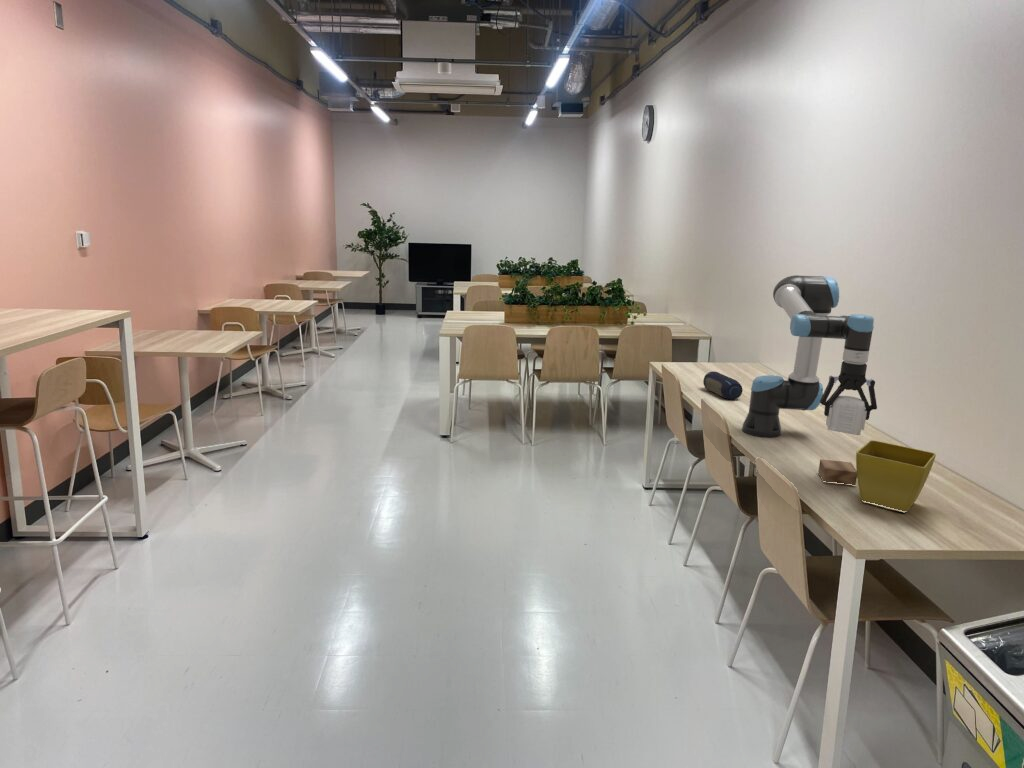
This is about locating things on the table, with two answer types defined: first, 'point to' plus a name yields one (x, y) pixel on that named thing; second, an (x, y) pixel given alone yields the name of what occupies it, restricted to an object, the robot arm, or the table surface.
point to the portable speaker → (722, 385)
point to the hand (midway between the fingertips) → (844, 427)
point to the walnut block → (837, 471)
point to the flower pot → (892, 473)
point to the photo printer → (847, 415)
